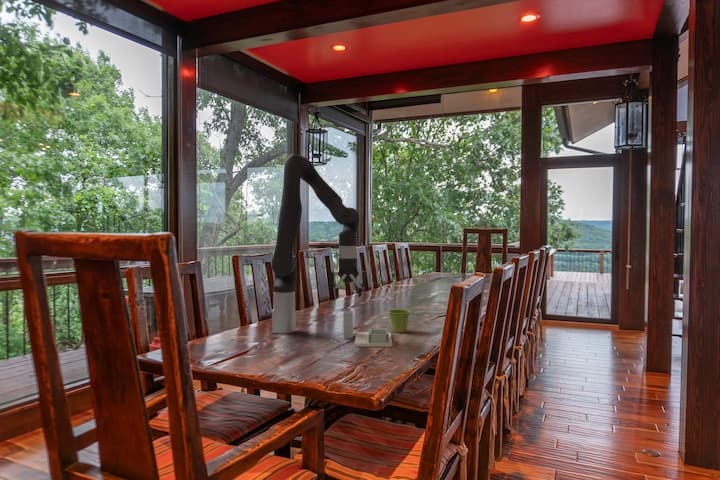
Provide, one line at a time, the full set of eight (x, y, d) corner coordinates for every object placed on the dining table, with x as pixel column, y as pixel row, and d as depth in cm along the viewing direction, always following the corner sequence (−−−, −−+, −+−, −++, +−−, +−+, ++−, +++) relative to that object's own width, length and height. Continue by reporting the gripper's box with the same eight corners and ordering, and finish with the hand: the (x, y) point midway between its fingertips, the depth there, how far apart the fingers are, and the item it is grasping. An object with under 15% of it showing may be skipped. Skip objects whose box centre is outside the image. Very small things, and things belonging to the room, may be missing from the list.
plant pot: (385, 333, 192) (385, 312, 192) (392, 328, 201) (392, 308, 201) (406, 334, 189) (406, 313, 189) (412, 330, 198) (412, 310, 197)
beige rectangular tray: (354, 346, 171) (354, 335, 170) (356, 335, 189) (356, 325, 188) (392, 346, 170) (392, 335, 170) (390, 335, 188) (390, 325, 188)
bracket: (343, 338, 183) (343, 313, 182) (344, 335, 189) (344, 311, 188) (352, 338, 183) (352, 313, 182) (353, 335, 189) (353, 311, 188)
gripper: (329, 257, 181) (330, 298, 182) (365, 257, 181) (366, 298, 181) (331, 256, 189) (331, 296, 189) (365, 256, 189) (366, 295, 189)
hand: (348, 297), depth 185 cm, fingers open, 8 cm apart
